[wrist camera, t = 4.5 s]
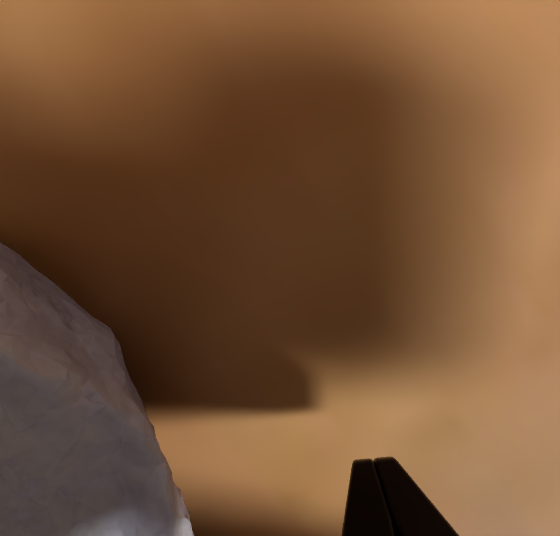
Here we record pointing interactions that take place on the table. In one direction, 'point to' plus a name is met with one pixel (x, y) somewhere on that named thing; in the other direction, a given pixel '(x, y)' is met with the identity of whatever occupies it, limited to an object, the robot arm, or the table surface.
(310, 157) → the table surface
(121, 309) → the table surface
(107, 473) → the stone block
